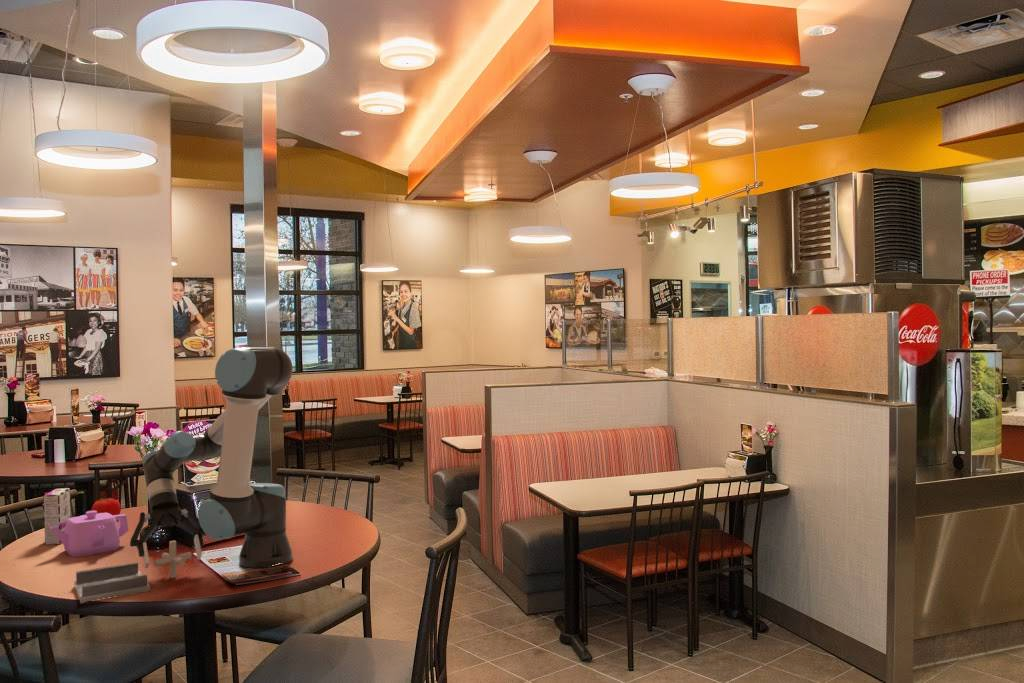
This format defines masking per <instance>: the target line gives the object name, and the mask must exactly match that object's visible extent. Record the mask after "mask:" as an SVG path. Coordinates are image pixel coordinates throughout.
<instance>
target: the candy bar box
mask: <svg viewBox="0 0 1024 683" xmlns="http://www.w3.org/2000/svg"><path fill="white" fill-rule="evenodd" d="M70 491H71V488H69V487H64V488H63V487H62V488H54V489H52V490H51V491H49V492H48V493H46V494H45V495H43V517H44V520H43V521H44V523H43V524H44V545H45V546H53V545H54V546H55V545H61V544H62V543H61V541H60V540H59V539H58V538H57V536H56V535H55V534H54V533H53V532H52V530H51V529H50V528H51V527H54V526H57V528H59V529H60V530H61V531H62V532H63V533H65V527H66V523H67V519H68V518H72V516H71V515H72V514H71V492H70Z"/></svg>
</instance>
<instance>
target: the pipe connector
mask: <svg viewBox="0 0 1024 683" xmlns="http://www.w3.org/2000/svg"><path fill="white" fill-rule="evenodd" d="M168 544H169V546H168V552H163V553H162V554H161V558H159V559H155V560H153V565H154V566H153V567H156V568H157V567H161V566H164V565H169V579H175V578H177V577H178V575H177V574H178V572H177V569H178V567H177V565H178V566H183V565H185V564H186V560H190V559H192V556H193V555H192V552H191V551H188V552H184V553H180V554H177V541H176V540H170V541H169V542H168Z"/></svg>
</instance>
